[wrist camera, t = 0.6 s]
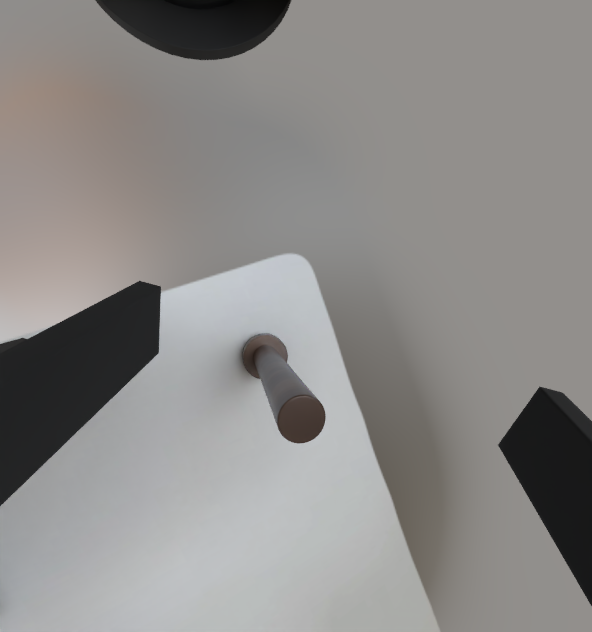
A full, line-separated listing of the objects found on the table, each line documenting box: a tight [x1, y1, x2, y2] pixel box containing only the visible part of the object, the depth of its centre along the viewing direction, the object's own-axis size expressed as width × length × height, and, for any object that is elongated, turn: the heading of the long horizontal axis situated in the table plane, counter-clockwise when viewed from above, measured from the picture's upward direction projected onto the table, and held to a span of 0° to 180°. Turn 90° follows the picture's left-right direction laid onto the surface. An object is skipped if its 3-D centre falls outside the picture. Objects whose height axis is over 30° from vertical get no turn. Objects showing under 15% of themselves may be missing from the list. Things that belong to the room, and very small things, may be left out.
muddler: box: [243, 334, 325, 443], centre depth 23 cm, size 4×4×18 cm
